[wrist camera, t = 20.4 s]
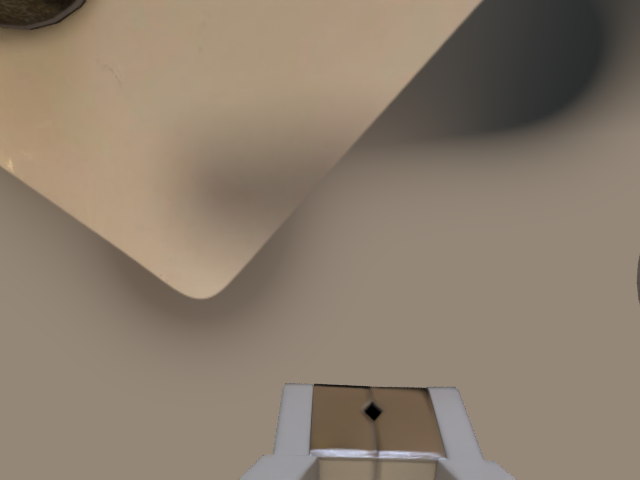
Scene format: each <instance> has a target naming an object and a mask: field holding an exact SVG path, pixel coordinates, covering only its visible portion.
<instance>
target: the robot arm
mask: <svg viewBox="0 0 640 480" xmlns="http://www.w3.org/2000/svg"><path fill="white" fill-rule="evenodd" d="M238 480H516V479H515V478H514V477H513V476H511V475H510V474H509V473H508V472H507V471H505V470H504V469H503V468H502V467H501V466H499V465H498V464H497V463H496V462H495V461H486V460H484V458H483V455H482V452H481V449H480V447H479V444H478V441H477V439H476V436H475V433H474V430H473V428H472V425H471V422H470V420H469V417H468V414H467V411H466V408H465V406H464V403H463V400H462V398H461V395H460V392H459V390H458V389H457V388H456V387H426V388H414V387H411V388H410V387H370V386H369V387H368V386H349V385H327V384H314V387H313V385H312V384H295V383H285V385H284V387H283V390H282V396H281V403H280V410H279V416H278V423H277V429H276V436H275V443H274V449H273V455H263V456H262V457H261V458H260V459H259V460H258V461H257V462H256V463H255V464H254V465H253V466H252V467H251V468H250V469H249V470H248V471H247V472H246V473H245V474H244V475H243V476H242V477H241V478H240V479H238Z"/></svg>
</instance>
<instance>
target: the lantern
mask: <svg viewBox="0 0 640 480" xmlns="http://www.w3.org/2000/svg"><path fill="white" fill-rule="evenodd" d="M84 2H85V0H0V27H6V28H16V29H25V30H33V29H36V28H40V27H44V26H48V25H52V24H56V23H59V22H61V21H62V20H63V19H65V18H66V17H67V16H69V15H70V14H71V13H73V12H74V11H75V10H77V9H78V8H80V7H81V6H82V5H83V3H84Z"/></svg>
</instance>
